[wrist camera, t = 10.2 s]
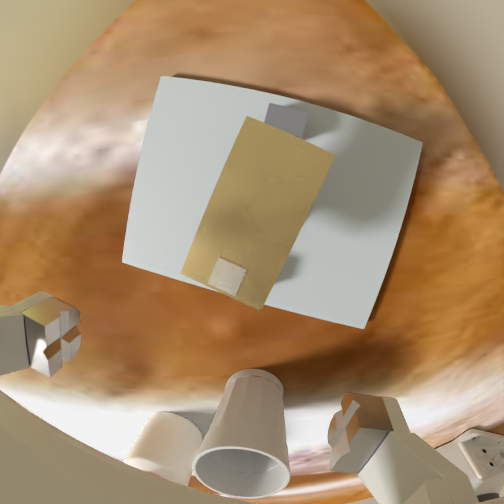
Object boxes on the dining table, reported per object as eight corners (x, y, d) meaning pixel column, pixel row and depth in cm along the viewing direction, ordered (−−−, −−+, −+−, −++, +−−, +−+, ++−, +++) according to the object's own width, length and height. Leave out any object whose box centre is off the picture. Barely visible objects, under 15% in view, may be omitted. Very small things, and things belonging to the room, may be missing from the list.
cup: (205, 393, 33) (175, 471, 22) (246, 348, 31) (226, 431, 20) (261, 426, 34) (251, 506, 22) (306, 387, 32) (310, 472, 20)
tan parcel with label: (255, 129, 19) (246, 115, 15) (324, 159, 19) (335, 155, 15) (201, 253, 22) (179, 274, 17) (265, 283, 22) (260, 311, 17)
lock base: (417, 143, 25) (455, 136, 18) (361, 323, 29) (379, 362, 22) (165, 79, 26) (132, 55, 19) (127, 259, 30) (89, 281, 23)
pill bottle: (214, 437, 35) (195, 504, 24) (180, 457, 37) (158, 516, 26) (166, 402, 34) (133, 466, 24) (136, 425, 36) (103, 482, 25)
